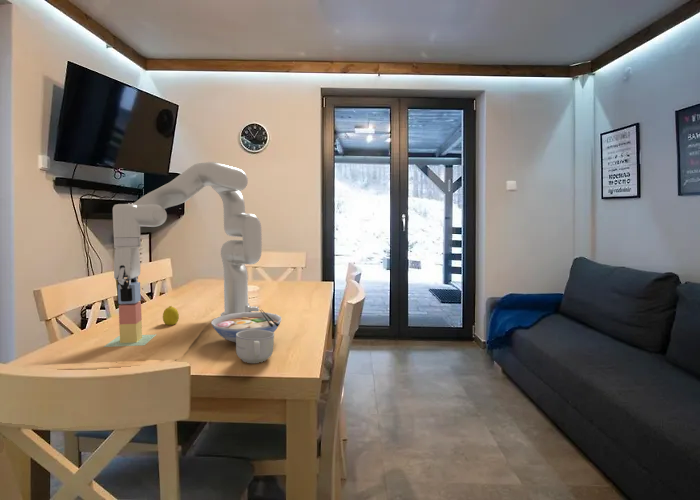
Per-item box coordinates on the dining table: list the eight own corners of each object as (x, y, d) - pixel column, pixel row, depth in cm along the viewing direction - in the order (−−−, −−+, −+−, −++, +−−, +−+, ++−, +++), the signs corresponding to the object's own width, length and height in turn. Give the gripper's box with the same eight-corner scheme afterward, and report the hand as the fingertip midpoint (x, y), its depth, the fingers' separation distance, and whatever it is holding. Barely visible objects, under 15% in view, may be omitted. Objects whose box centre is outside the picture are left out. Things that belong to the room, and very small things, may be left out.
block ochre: (142, 337, 139) (141, 320, 138) (136, 342, 134) (136, 323, 133) (126, 338, 138) (125, 320, 138) (120, 342, 133) (119, 324, 133)
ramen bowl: (209, 334, 147) (209, 311, 146) (274, 328, 155) (274, 307, 154) (213, 357, 124) (212, 329, 123) (289, 348, 132) (289, 323, 131)
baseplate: (156, 337, 143) (156, 334, 143) (144, 348, 131) (144, 345, 131) (119, 339, 141) (118, 335, 141) (103, 350, 129) (103, 346, 129)
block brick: (141, 319, 138) (141, 302, 138) (136, 323, 133) (135, 305, 133) (125, 320, 138) (124, 302, 137) (119, 324, 133) (118, 305, 132)
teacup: (239, 354, 126) (239, 328, 126) (276, 353, 127) (275, 327, 127) (230, 371, 112) (230, 342, 112) (271, 370, 113) (271, 341, 113)
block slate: (140, 300, 138) (140, 282, 137) (135, 303, 133) (134, 284, 132) (124, 300, 137) (123, 282, 137) (118, 303, 132) (117, 285, 132)
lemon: (173, 329, 154) (172, 308, 153) (159, 328, 155) (159, 307, 154) (182, 325, 159) (181, 304, 158) (169, 324, 160) (168, 304, 159)
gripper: (125, 241, 141) (127, 294, 143) (103, 244, 125) (106, 305, 126) (148, 241, 142) (150, 294, 144) (130, 244, 126) (132, 304, 127)
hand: (129, 298), depth 135 cm, fingers closed on block slate, 4 cm apart
